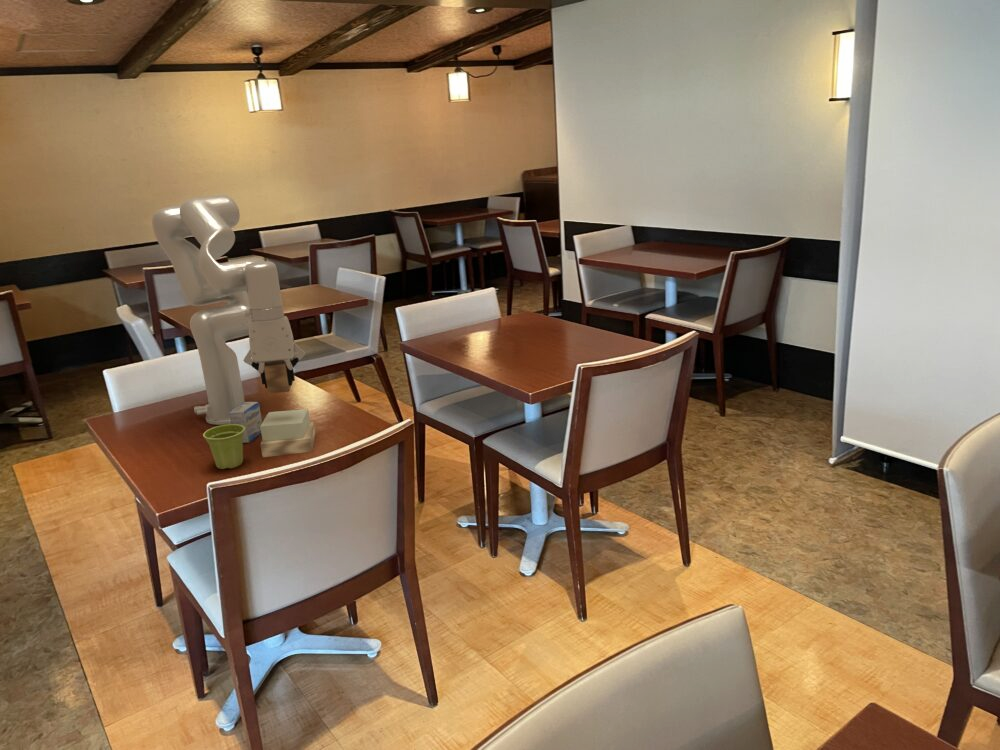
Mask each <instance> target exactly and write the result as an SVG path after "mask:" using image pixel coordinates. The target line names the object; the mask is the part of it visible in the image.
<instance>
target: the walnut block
mask: <svg viewBox="0 0 1000 750" xmlns="http://www.w3.org/2000/svg"><path fill="white" fill-rule="evenodd" d="M264 371H265V377H266V383H267V388H266V389H267V394H268V395H271V394H279V393H281V394H282V393H288V392H290V391H291V387H292V386H289V383H288V376H287V365H286V363H285V361H284V360H279V361H270V362H266V363H265V365H264Z"/></svg>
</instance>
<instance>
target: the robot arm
mask: <svg viewBox="0 0 1000 750" xmlns="http://www.w3.org/2000/svg"><path fill="white" fill-rule="evenodd" d="M240 216H241V215H240V209H239V206H238V205H237V203H236V202H235V201H234V199H232V197H230V196H228V195H226V194H219V195H208V196H199V197H193V198H189V199H187V200H186V201H184V202H183V203H182V204H179V205H171V206H167V207H166V206H165V207H163V208H160V209H158V210H157V211H155V212H154V213H153V215H152V220H151V226H152V230H153V234H154V236H155V239H156V241H157V243H158V244H159V247H160V248H161V249H162V250H163V252H164V254H166V256H167V257H168V259H169V261H170V263H171V265H172V268H173V270H174V273H175V276H176V278H177V280H178V284H179V286H180V289H181V291H182V294H183V296H184V298H185V301H186V302H187V303H188V304H189V305H190V306H193V307H202V306H208V305H213V304H217V303H218V304H220V303H223V302H226V304H225V305H218V306H213V307H208V308H204V309H201V310H199V311H197V312H195V313H194V314H193V315H191V318H190V321H189V328H190V330H191V334H192V336H193V339H194V342H195V345H196V347H197V351H198V356H199V359H200V364H201V365H200V366H201V368H202V369H201V370H202V374H203V380H204V381H203V382H204V384H205V390H206V391H205V392H206V395H207V401H208V403H207V404H205V405H198V406H193V409H194V414H196V415H197V416H199V415H206V416H205V420H206V423H208V424H210V425H215V426H221V425H227V424H231V423H230V418H229V412H231V411H232V410H234V409H235V408H237V407H238V406H240V405H241V404H243V403H244V402H246V400H245V394H244V388H243V383H242V378H241V377H242V376H241V372H240V366H239V360H238V355H237V354H236V352H235V350H234V349H232V347H230V346H229V345H228V344H226V342H227V341H230V340H233V339H237V338H242V337H245V336H248V339H249V350H248V352H247V353H246V355H245V356H244V358H243V363H245V364H247V365H249V366H251V367H252V368H253V369H255V370H256V371H257V372H258V373H259V374H260V377H261V378H260V379H261V384H262V385H264V387H265V389H267V383H266V377H265V371H264V365H265V363H266V362H270V361H279V360H284V361H285V363H286V365H287V376H288V383H289V386H291V387H292V386H293V383H294V382H295V381H296V380H295V379H296V378H295V372H294V368H295V367H296V366H297V364H298V363H299V361H301V360H302V358H303V357H305V355H306V352H305V351H304V349H302V348H301V347H300V346H299V345H298V344H297V343H296V342H295V340H294V335H293V331H292V328H291V324H290V321H289V318H288V316H287V315H285V312H284V306H283V298H282V293H281V287H280V280H279V274H278V268H277V266H276V264H275V263H274V262H273V261H269V260H267V261H266V260H264V259H263V258H261V257H252V258H244V259H238V260H232V261H226V262H218V261H217V259H219V258H220V257H222V256H223V255H225V254H226V253H228V252H229V251H230V250H231V249H232V248H233V246H234V244H235V241H236V235H235V232H234V230H233V228H234V227H236V226H237V225H238V223H239V222H240ZM188 237H194V238H195V240H196V241H197V242H198V243H199V244H200V248H198V247H197V246H196V245H195V244H193V243H192V242H190V241H188V240H187V239H186V238H188ZM295 353H296V354H297V355H296V356H295ZM294 356H295V357H294Z"/></svg>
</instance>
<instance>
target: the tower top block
mask: <svg viewBox="0 0 1000 750" xmlns="http://www.w3.org/2000/svg"><path fill="white" fill-rule="evenodd" d="M310 422H311V420H310V414H309V408H305V409H292V410H291V409H290V410H282V411H281V410H280V411H269V412H268V413H267V414H266V416H265V417H264V419H263V420H262V424H261V426H260V428H261V434H260V435H261V441H262V440H263V441H274V440H286V439H298V438H304V436H305V434H306V432H307V429H308V427H309V425H310Z"/></svg>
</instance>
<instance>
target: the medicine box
mask: <svg viewBox="0 0 1000 750" xmlns="http://www.w3.org/2000/svg"><path fill="white" fill-rule="evenodd" d="M229 418H230V423H231V424H238V425H242V426H244V427H245V431H244V432H243V444H249V443H252V442H253V441H254V440H255V439H256V438H258V437H259V436H260V435H262V434H261V428H260V426H261V424H262V423H263V420H262V419H263V418H262V413H261V408H260V403H259V402H258V401H245V402H244V403H243V404H241V405H240V406H238V407H237V408H235V409H234V410H232V411H231V412H229Z"/></svg>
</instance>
